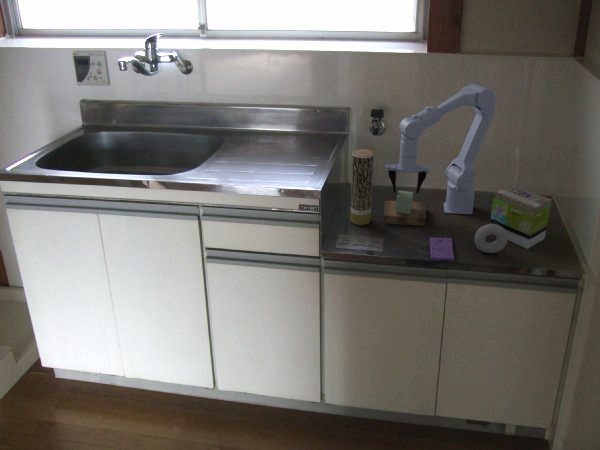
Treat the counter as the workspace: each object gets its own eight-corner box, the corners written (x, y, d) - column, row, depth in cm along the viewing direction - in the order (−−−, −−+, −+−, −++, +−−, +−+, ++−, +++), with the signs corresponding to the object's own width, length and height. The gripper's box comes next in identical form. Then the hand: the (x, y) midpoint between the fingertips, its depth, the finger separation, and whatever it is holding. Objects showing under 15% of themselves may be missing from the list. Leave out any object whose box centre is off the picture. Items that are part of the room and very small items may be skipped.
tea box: (487, 233, 211) (493, 192, 204) (505, 223, 216) (511, 183, 210) (527, 250, 200) (535, 207, 194) (545, 239, 206) (553, 198, 199)
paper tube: (373, 219, 220) (376, 150, 209) (366, 227, 215) (369, 157, 203) (354, 215, 223) (356, 147, 211) (347, 223, 217) (349, 154, 206)
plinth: (424, 210, 226) (424, 202, 225) (425, 225, 216) (425, 217, 214) (384, 208, 228) (384, 200, 227) (383, 223, 217) (383, 215, 216)
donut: (473, 254, 198) (476, 225, 194) (472, 249, 201) (475, 220, 197) (506, 256, 197) (511, 227, 192) (504, 250, 200) (509, 222, 195)
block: (412, 207, 221) (413, 192, 218) (410, 214, 217) (411, 198, 214) (397, 206, 222) (398, 190, 220) (395, 212, 218) (396, 196, 215)
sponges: (451, 243, 206) (451, 238, 205) (453, 263, 195) (454, 257, 194) (429, 241, 207) (429, 236, 206) (430, 261, 196) (430, 256, 195)
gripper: (430, 150, 214) (427, 187, 220) (386, 149, 216) (384, 186, 222) (431, 158, 208) (428, 196, 214) (386, 156, 210) (384, 194, 216)
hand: (405, 191), depth 218 cm, fingers open, 7 cm apart
